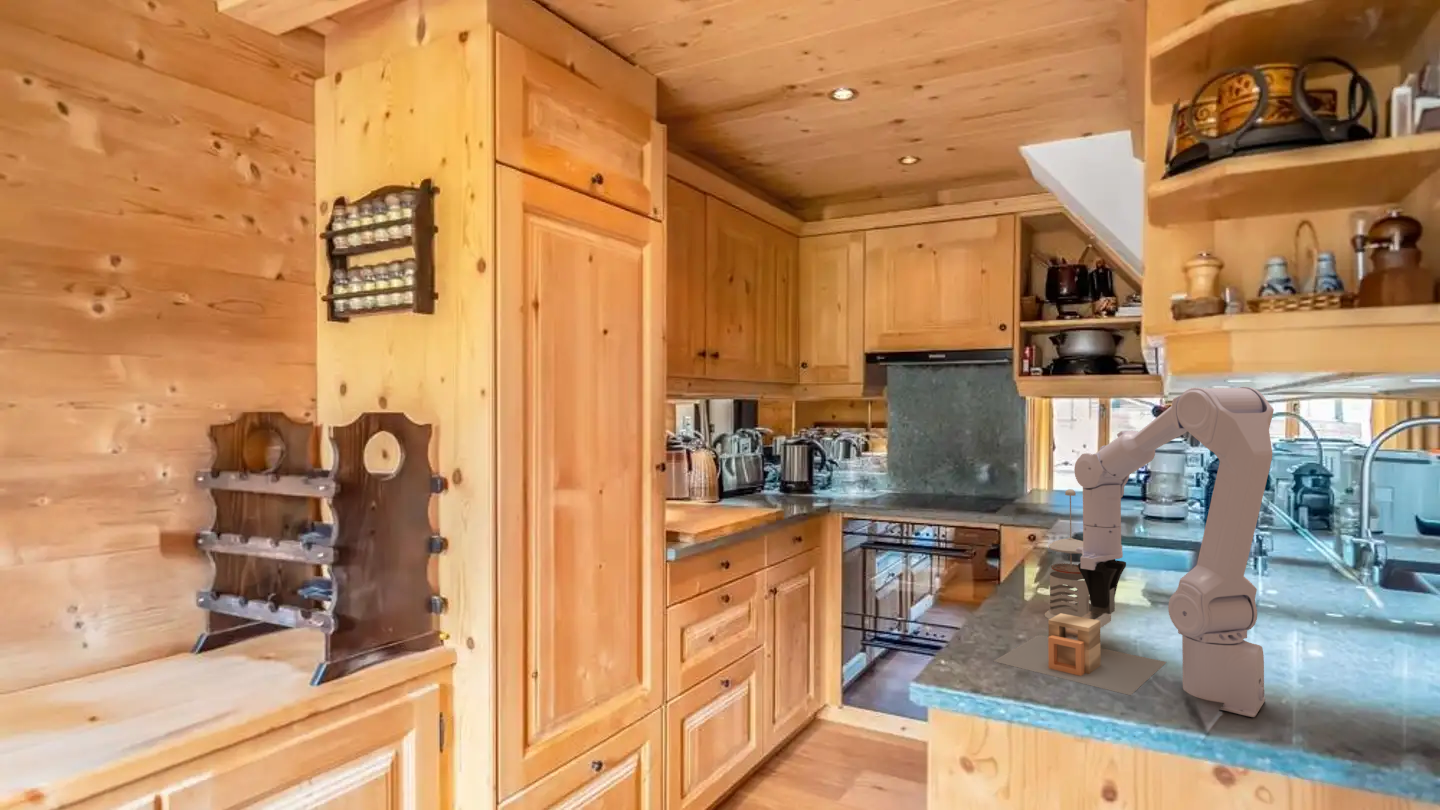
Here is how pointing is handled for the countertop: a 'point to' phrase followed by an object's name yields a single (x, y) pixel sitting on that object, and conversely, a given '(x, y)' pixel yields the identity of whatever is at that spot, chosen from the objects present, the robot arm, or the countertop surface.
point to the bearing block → (1086, 633)
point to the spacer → (1059, 666)
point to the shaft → (1096, 615)
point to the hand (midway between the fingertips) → (1102, 605)
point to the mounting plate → (1112, 674)
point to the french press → (1067, 580)
